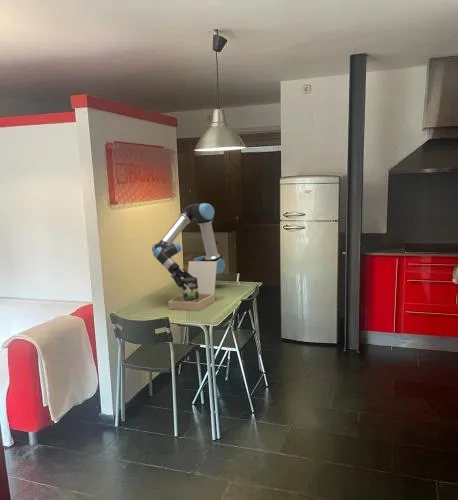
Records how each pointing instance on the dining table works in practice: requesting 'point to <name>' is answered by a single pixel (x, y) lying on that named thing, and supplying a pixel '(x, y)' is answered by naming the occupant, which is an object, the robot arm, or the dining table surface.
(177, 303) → the mailer box
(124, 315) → the dining table surface
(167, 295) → the dining table surface
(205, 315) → the dining table surface
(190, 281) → the coffee can
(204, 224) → the robot arm
